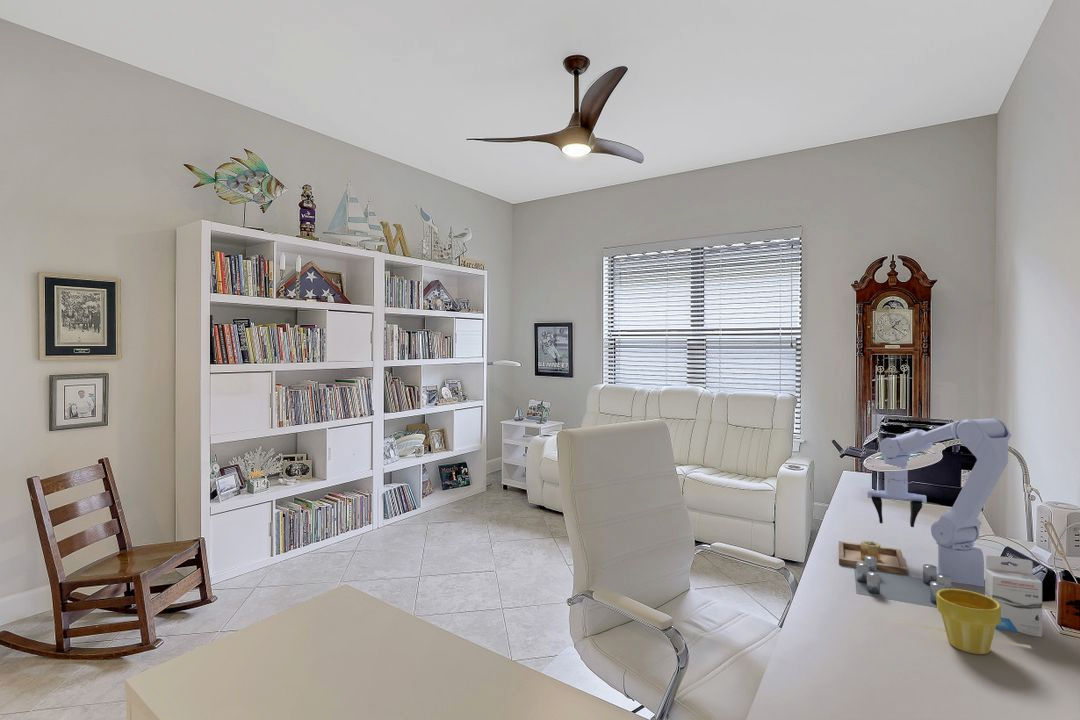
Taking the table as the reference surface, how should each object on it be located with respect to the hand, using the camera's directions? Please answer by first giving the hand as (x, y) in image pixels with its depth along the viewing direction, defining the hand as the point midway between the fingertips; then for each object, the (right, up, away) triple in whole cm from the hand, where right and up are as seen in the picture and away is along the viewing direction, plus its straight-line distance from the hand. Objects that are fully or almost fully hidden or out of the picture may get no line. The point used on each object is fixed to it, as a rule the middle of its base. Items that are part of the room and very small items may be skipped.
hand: (896, 524), depth 159 cm
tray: (-10, -10, -4) cm, 14 cm away
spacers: (-13, -10, -22) cm, 28 cm away
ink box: (-2, -10, -42) cm, 43 cm away
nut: (-10, -9, -4) cm, 14 cm away
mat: (-13, -10, -22) cm, 28 cm away
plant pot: (-17, -10, -48) cm, 53 cm away
